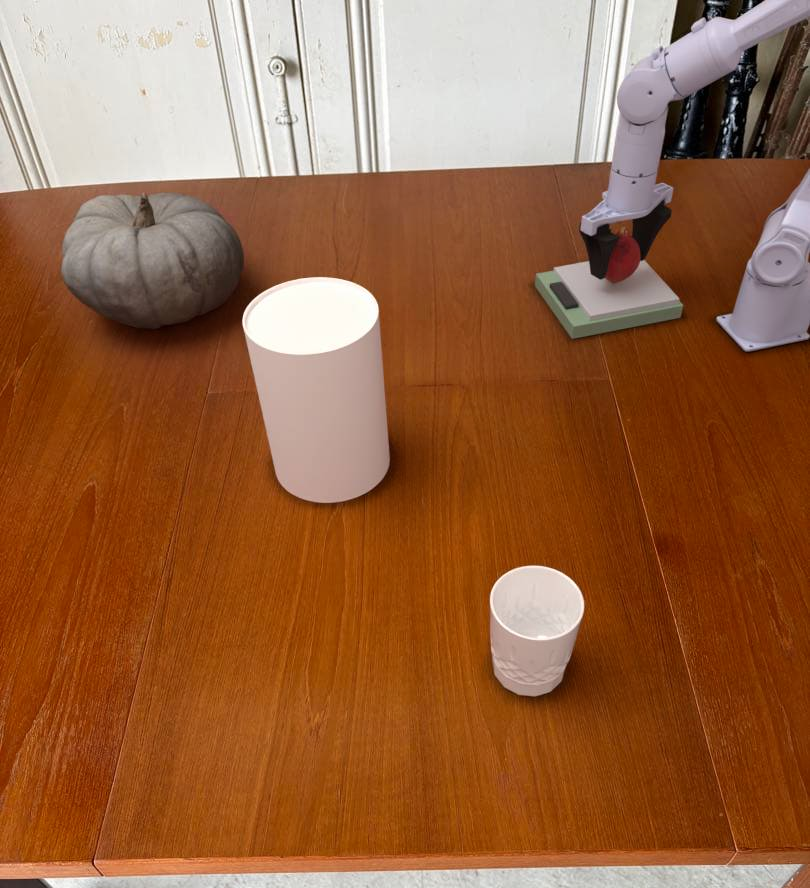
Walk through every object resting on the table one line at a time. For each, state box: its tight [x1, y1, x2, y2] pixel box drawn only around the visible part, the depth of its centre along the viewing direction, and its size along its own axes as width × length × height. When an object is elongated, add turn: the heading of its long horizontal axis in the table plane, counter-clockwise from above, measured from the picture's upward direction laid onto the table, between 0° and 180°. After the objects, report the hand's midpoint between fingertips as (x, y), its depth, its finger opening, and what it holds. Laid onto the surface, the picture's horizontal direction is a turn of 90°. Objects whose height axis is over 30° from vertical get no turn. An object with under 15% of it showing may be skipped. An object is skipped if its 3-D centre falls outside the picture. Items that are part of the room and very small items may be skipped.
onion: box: [605, 225, 641, 283], centre depth 111 cm, size 6×6×8 cm
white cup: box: [489, 565, 585, 697], centre depth 72 cm, size 8×8×10 cm
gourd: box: [60, 192, 245, 330], centre depth 114 cm, size 25×25×17 cm
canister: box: [241, 276, 391, 504], centre depth 88 cm, size 14×14×20 cm
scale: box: [534, 260, 684, 340], centre depth 115 cm, size 16×14×3 cm
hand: (617, 266), depth 112 cm, fingers open, 7 cm apart
